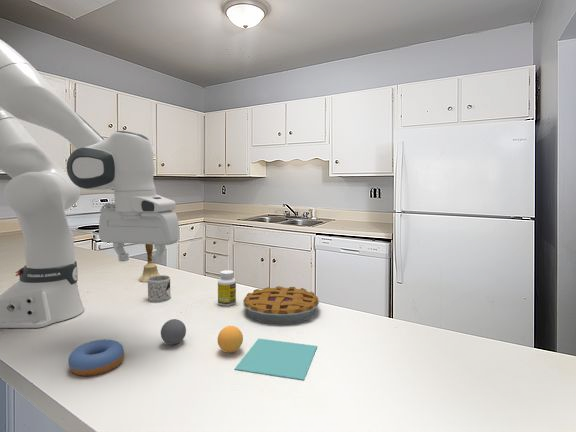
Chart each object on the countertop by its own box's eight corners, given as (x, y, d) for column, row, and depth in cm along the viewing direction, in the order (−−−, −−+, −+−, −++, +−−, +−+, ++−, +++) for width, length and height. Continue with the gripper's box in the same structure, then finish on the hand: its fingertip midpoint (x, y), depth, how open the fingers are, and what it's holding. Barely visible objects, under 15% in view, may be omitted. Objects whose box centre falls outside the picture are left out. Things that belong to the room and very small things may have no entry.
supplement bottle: (232, 307, 104) (232, 274, 104) (215, 305, 106) (214, 273, 105) (238, 301, 110) (238, 270, 109) (222, 299, 111) (221, 269, 110)
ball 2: (217, 358, 74) (217, 333, 74) (217, 346, 80) (217, 322, 79) (244, 355, 75) (244, 330, 75) (242, 344, 81) (241, 320, 80)
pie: (248, 298, 113) (248, 282, 113) (317, 299, 113) (317, 284, 112) (236, 326, 92) (236, 307, 91) (321, 327, 91) (321, 308, 90)
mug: (172, 300, 110) (171, 279, 109) (149, 303, 107) (148, 282, 106) (167, 291, 119) (167, 272, 118) (146, 294, 116) (145, 274, 115)
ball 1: (159, 349, 78) (158, 325, 77) (162, 339, 83) (162, 316, 83) (185, 347, 79) (184, 323, 78) (187, 337, 84) (186, 314, 84)
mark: (234, 369, 70) (234, 368, 70) (258, 339, 83) (258, 338, 83) (303, 380, 66) (303, 379, 66) (317, 346, 80) (317, 345, 80)
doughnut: (57, 367, 70) (59, 345, 70) (107, 349, 79) (108, 330, 78) (83, 388, 65) (84, 364, 64) (133, 367, 73) (135, 346, 73)
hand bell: (157, 282, 129) (156, 239, 127) (134, 282, 129) (133, 239, 128) (165, 276, 137) (164, 235, 136) (144, 276, 137) (142, 235, 136)
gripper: (89, 204, 82) (94, 262, 83) (164, 204, 76) (167, 267, 77) (110, 202, 88) (114, 257, 89) (181, 202, 82) (184, 261, 83)
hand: (140, 262), depth 83 cm, fingers open, 8 cm apart
